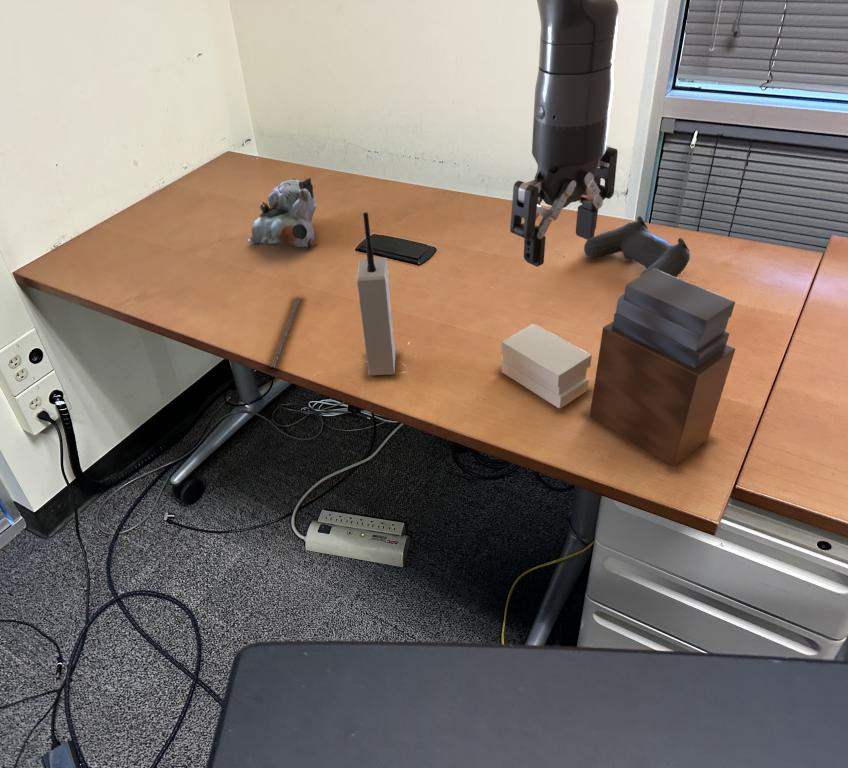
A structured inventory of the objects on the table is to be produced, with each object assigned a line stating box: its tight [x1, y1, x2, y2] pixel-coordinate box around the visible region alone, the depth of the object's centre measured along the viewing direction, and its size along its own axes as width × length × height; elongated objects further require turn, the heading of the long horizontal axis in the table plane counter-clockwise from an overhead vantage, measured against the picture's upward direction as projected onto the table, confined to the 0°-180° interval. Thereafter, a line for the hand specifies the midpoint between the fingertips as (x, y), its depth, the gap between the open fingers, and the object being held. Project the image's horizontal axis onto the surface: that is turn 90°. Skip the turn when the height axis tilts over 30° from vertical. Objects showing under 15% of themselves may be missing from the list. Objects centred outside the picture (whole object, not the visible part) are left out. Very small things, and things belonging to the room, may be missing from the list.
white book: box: [500, 323, 593, 387], centre depth 91 cm, size 10×6×2 cm, turn 34°
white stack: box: [501, 354, 590, 409], centre depth 93 cm, size 10×5×4 cm, turn 34°
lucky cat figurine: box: [246, 177, 317, 248], centre depth 132 cm, size 15×12×14 cm
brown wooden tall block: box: [589, 268, 736, 467], centre depth 79 cm, size 12×7×20 cm, turn 34°
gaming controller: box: [583, 215, 691, 278], centre depth 111 cm, size 17×6×10 cm
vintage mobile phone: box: [356, 212, 396, 376], centre depth 94 cm, size 4×5×25 cm
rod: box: [270, 298, 301, 370], centre depth 111 cm, size 1×19×1 cm, turn 170°
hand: (559, 249), depth 81 cm, fingers open, 8 cm apart
